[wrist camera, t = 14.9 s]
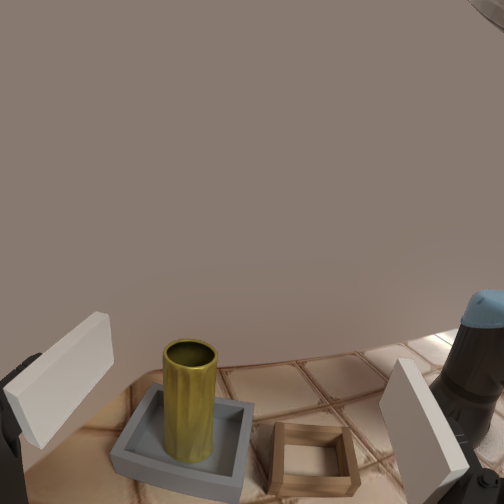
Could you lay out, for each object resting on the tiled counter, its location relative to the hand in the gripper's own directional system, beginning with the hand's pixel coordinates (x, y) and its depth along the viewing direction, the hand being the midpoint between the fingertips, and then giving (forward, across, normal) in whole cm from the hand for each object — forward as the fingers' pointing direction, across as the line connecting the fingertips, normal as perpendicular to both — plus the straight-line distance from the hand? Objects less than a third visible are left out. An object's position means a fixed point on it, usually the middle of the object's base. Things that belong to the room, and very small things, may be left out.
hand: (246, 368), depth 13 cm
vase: (+13, -6, -23) cm, 27 cm away
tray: (+13, -6, -24) cm, 28 cm away
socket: (+13, +9, -24) cm, 29 cm away
